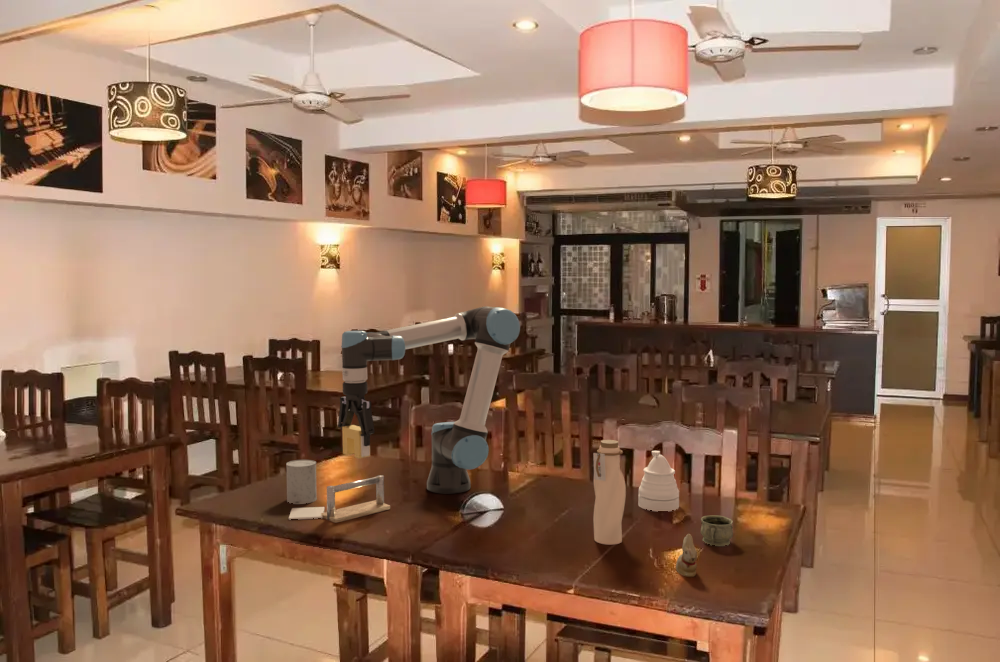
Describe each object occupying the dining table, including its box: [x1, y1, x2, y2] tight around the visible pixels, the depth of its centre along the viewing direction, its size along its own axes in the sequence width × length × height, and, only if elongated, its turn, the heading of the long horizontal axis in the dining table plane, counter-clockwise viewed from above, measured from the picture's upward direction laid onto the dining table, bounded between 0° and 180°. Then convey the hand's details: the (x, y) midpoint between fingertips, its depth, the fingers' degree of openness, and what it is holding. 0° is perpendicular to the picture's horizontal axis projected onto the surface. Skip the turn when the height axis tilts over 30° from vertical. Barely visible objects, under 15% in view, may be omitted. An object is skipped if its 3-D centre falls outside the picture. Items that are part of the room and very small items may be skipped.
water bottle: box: [592, 439, 627, 545], centre depth 220 cm, size 10×9×28 cm
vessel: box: [700, 515, 734, 547], centre depth 220 cm, size 12×9×6 cm
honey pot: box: [637, 450, 680, 512], centre depth 254 cm, size 13×13×18 cm
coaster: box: [288, 506, 325, 521], centre depth 244 cm, size 10×10×1 cm
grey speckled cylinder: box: [286, 459, 318, 505], centre depth 259 cm, size 10×10×12 cm
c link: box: [341, 424, 371, 459], centre depth 244 cm, size 9×4×8 cm, turn 44°
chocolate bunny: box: [675, 533, 698, 578], centre depth 198 cm, size 6×8×10 cm
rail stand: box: [321, 474, 391, 524], centre depth 245 cm, size 20×8×10 cm, turn 134°
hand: (356, 453), depth 244 cm, fingers closed on c link, 9 cm apart
